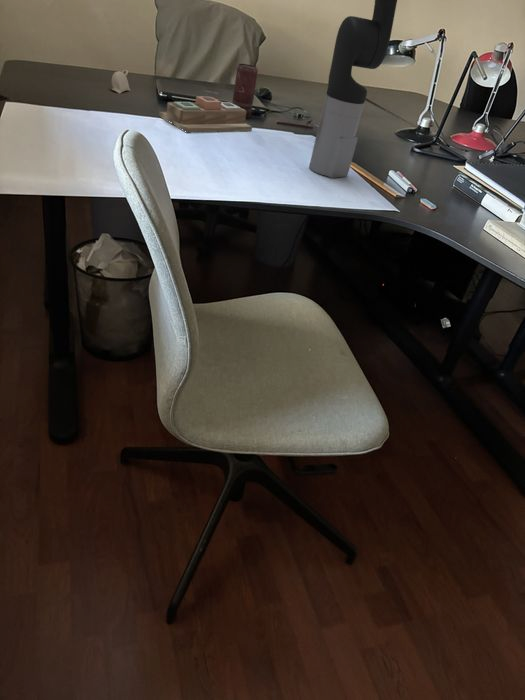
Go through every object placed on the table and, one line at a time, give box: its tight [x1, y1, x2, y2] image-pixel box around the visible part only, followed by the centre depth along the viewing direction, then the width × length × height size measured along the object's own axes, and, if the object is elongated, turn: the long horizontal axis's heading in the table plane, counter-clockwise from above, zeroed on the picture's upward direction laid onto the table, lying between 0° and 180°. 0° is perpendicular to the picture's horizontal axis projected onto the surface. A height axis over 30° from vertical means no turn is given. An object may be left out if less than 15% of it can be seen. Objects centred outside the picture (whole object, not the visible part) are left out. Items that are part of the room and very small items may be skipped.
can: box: [231, 63, 259, 120], centre depth 156 cm, size 6×6×14 cm
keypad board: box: [158, 101, 253, 133], centre depth 145 cm, size 14×22×4 cm, turn 130°
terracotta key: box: [195, 95, 223, 110], centre depth 143 cm, size 5×5×3 cm
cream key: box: [221, 101, 241, 110], centre depth 148 cm, size 5×5×3 cm
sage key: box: [173, 101, 200, 110], centre depth 139 cm, size 5×5×3 cm
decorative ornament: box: [111, 69, 131, 94], centre depth 157 cm, size 4×8×5 cm, turn 161°
